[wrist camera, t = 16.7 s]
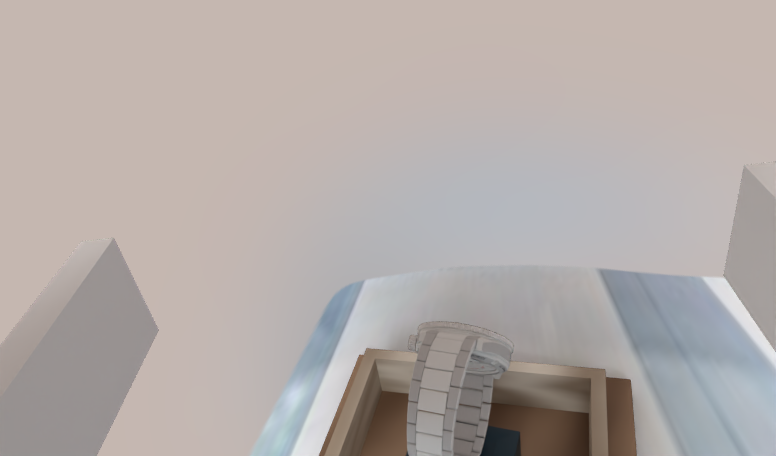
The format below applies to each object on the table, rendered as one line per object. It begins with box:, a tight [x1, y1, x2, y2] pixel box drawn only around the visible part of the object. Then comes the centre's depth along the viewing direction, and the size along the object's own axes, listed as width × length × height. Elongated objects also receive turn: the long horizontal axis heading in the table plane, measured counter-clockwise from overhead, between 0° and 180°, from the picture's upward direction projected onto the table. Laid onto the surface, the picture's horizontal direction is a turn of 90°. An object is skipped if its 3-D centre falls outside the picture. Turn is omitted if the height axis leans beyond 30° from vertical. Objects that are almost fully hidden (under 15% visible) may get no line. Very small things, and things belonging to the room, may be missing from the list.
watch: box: [406, 322, 521, 456], centre depth 31 cm, size 6×8×11 cm
